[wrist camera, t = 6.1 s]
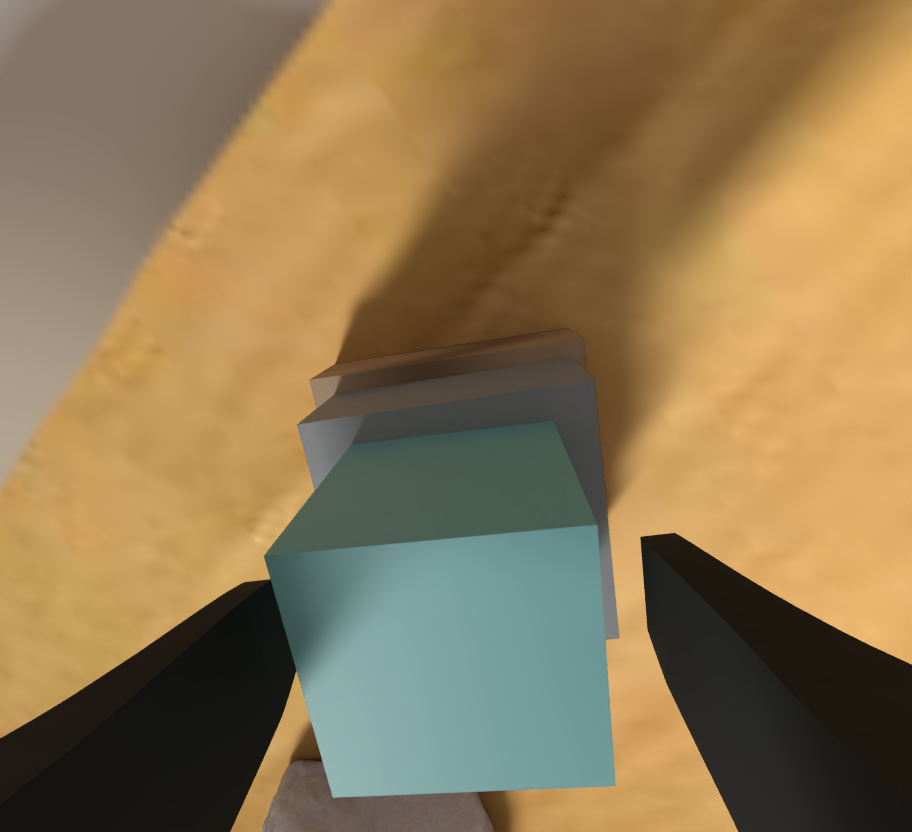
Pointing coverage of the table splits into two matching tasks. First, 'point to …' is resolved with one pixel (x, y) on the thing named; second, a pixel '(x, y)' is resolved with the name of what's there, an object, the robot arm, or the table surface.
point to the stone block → (367, 808)
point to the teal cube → (450, 616)
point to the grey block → (476, 427)
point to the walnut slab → (447, 362)
